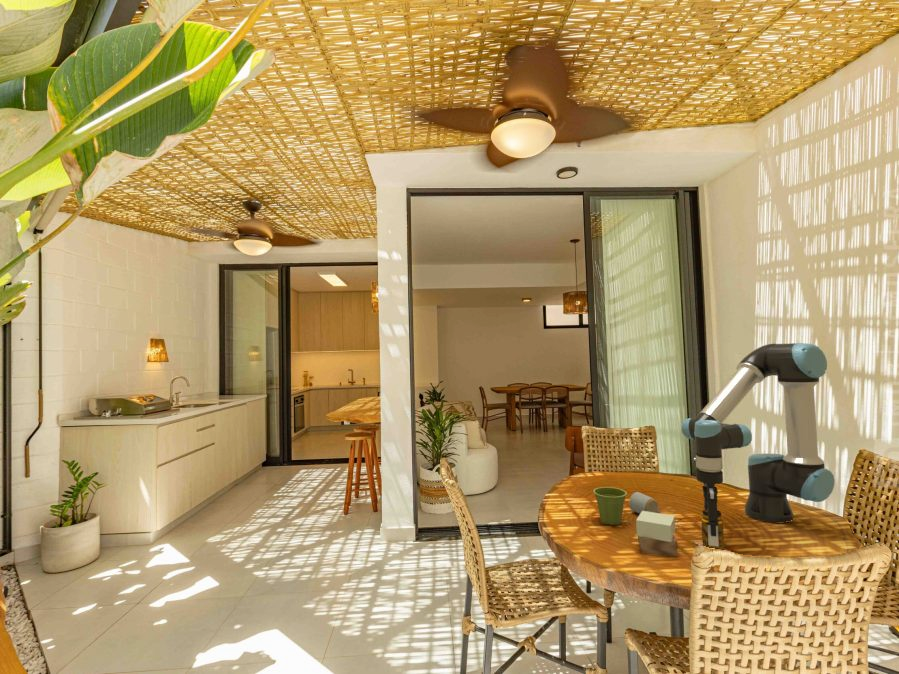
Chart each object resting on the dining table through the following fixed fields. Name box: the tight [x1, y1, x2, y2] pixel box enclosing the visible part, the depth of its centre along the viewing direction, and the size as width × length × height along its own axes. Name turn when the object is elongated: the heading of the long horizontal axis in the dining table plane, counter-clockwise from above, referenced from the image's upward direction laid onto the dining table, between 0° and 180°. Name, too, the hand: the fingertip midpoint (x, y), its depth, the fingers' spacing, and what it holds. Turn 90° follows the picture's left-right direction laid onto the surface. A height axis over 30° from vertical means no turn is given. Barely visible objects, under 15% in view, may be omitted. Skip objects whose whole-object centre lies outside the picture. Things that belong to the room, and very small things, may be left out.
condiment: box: [694, 508, 728, 550], centre depth 151 cm, size 7×8×12 cm
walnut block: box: [637, 535, 678, 557], centre depth 152 cm, size 10×10×5 cm
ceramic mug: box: [629, 491, 661, 515], centre depth 183 cm, size 11×8×8 cm
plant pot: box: [592, 486, 628, 526], centre depth 175 cm, size 12×12×11 cm
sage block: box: [635, 511, 676, 542], centre depth 152 cm, size 10×10×5 cm
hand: (711, 539), depth 151 cm, fingers open, 9 cm apart
